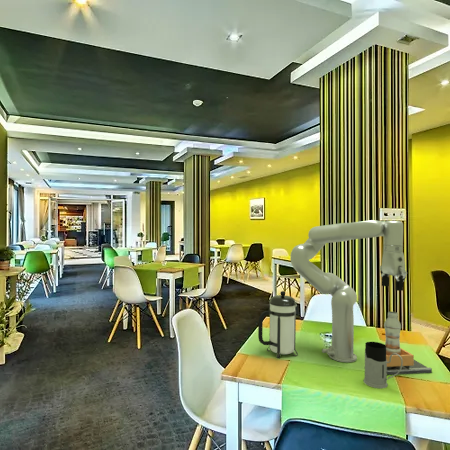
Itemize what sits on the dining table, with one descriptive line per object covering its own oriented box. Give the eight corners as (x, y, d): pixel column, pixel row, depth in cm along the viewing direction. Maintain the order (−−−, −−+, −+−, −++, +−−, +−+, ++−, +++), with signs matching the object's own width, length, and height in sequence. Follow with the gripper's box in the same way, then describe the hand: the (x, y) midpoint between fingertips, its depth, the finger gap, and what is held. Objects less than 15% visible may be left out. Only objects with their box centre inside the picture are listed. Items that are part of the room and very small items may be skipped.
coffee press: (271, 345, 171) (272, 286, 171) (301, 351, 163) (302, 290, 163) (257, 356, 156) (258, 292, 156) (290, 364, 148) (291, 296, 148)
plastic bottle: (403, 362, 141) (403, 314, 141) (386, 360, 143) (386, 314, 143) (398, 356, 148) (398, 311, 148) (382, 354, 149) (382, 310, 149)
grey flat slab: (387, 374, 138) (387, 370, 138) (370, 362, 151) (370, 358, 151) (431, 372, 140) (431, 368, 140) (410, 360, 153) (410, 356, 153)
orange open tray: (387, 370, 138) (387, 356, 138) (370, 359, 150) (370, 345, 150) (413, 369, 140) (413, 355, 140) (395, 357, 152) (395, 345, 152)
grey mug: (369, 375, 137) (369, 339, 137) (406, 388, 126) (406, 349, 127) (359, 382, 131) (359, 344, 131) (397, 396, 121) (398, 355, 121)
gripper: (414, 250, 137) (413, 292, 137) (388, 247, 154) (387, 284, 154) (397, 250, 136) (396, 292, 136) (373, 247, 153) (372, 284, 154)
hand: (392, 288), depth 145 cm, fingers open, 9 cm apart
